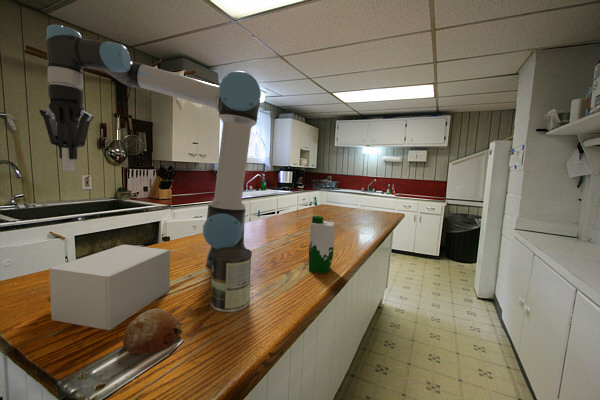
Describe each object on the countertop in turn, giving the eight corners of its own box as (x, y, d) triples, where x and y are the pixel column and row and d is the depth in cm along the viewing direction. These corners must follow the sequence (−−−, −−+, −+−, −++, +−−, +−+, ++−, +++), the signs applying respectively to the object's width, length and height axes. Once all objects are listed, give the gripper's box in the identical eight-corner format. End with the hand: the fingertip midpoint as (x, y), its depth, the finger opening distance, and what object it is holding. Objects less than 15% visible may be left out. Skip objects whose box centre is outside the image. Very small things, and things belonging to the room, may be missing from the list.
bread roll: (149, 340, 61) (133, 310, 60) (191, 322, 61) (176, 292, 60) (124, 373, 51) (104, 338, 50) (175, 352, 51) (157, 316, 50)
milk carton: (309, 264, 106) (313, 214, 104) (332, 267, 105) (336, 216, 102) (305, 272, 98) (309, 218, 96) (330, 275, 96) (335, 220, 94)
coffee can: (204, 311, 68) (205, 256, 66) (218, 292, 78) (219, 245, 76) (244, 314, 67) (247, 259, 66) (253, 295, 78) (255, 247, 76)
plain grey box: (169, 290, 77) (169, 250, 76) (109, 330, 58) (108, 276, 56) (123, 283, 80) (123, 244, 78) (51, 319, 60) (49, 268, 59)
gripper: (99, 93, 81) (100, 171, 83) (52, 89, 79) (55, 169, 82) (81, 85, 73) (83, 172, 76) (29, 80, 72) (33, 169, 74)
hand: (68, 170), depth 79 cm, fingers closed
